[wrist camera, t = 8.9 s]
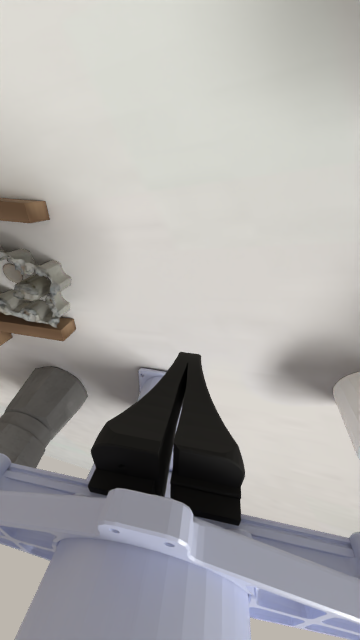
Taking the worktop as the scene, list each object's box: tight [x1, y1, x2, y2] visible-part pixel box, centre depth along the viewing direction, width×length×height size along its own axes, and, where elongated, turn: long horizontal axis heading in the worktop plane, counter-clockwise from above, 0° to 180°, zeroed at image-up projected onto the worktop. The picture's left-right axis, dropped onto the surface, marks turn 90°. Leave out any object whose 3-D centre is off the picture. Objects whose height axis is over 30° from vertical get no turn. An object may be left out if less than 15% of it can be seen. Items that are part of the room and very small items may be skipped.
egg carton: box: [0, 245, 71, 328], centre depth 23 cm, size 11×8×4 cm
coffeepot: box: [0, 367, 88, 468], centre depth 27 cm, size 15×9×18 cm, turn 125°
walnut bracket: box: [0, 198, 76, 346], centre depth 23 cm, size 20×12×2 cm, turn 177°
